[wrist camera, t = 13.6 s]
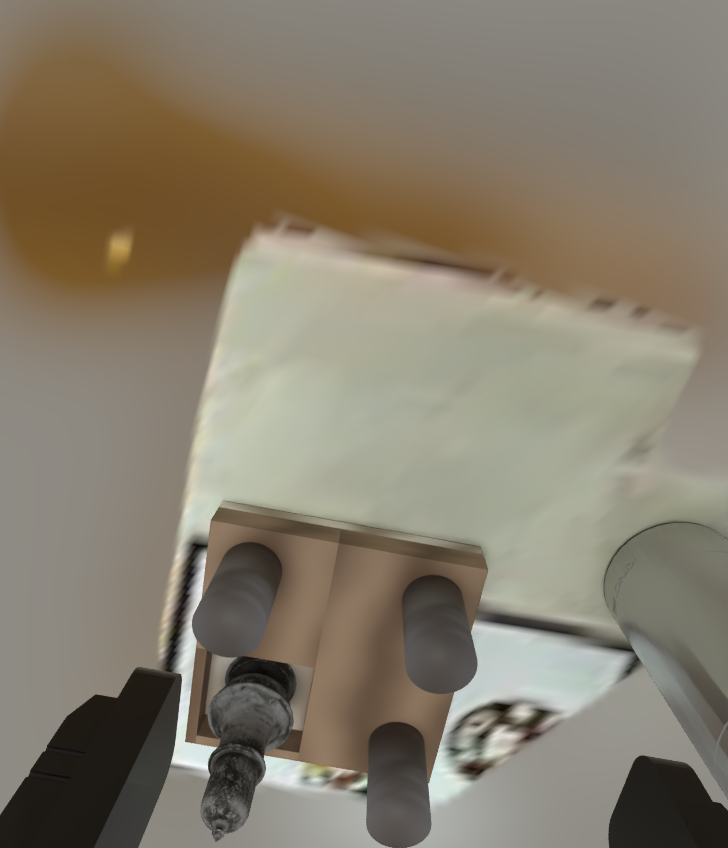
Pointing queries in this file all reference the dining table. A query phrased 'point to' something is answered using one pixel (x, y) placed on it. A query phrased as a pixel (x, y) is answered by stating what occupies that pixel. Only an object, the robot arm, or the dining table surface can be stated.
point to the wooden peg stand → (344, 645)
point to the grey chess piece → (245, 737)
